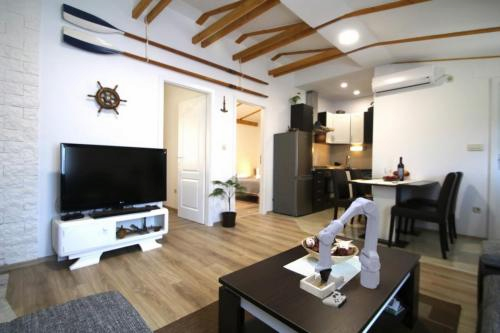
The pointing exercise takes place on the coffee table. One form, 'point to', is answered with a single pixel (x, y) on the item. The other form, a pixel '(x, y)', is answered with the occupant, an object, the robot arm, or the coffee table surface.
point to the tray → (314, 290)
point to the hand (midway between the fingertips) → (324, 282)
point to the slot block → (337, 281)
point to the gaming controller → (335, 299)
